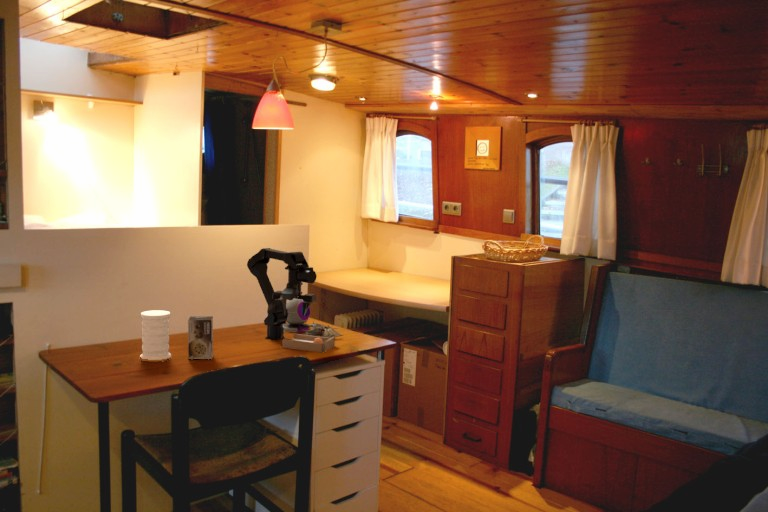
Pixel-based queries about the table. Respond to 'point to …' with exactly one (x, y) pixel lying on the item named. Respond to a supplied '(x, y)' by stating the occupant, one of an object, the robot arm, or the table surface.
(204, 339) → the coffee box
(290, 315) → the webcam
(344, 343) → the table surface
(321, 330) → the figurine
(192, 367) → the table surface
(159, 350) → the decorative container
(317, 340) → the ball
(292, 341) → the shallow open tray
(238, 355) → the table surface
